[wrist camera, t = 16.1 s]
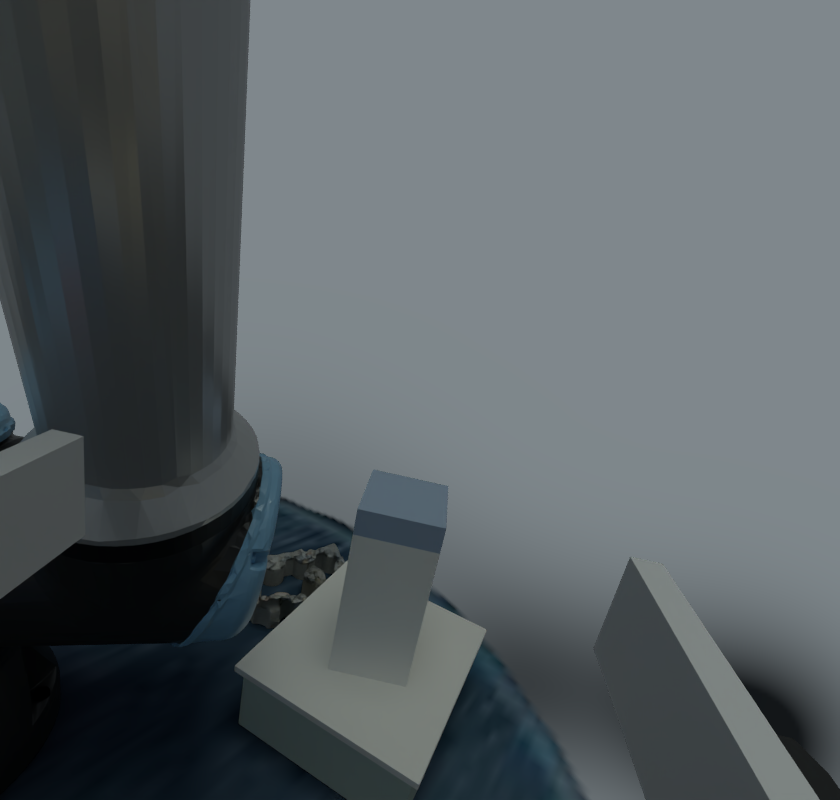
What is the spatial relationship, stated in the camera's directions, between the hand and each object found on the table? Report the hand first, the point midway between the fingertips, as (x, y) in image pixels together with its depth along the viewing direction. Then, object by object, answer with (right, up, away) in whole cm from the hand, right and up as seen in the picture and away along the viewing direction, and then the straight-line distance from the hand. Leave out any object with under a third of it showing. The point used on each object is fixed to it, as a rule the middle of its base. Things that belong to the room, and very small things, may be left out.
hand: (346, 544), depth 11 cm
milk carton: (-2, -17, +27) cm, 32 cm away
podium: (-3, -22, +29) cm, 36 cm away
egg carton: (-11, -18, +39) cm, 44 cm away
